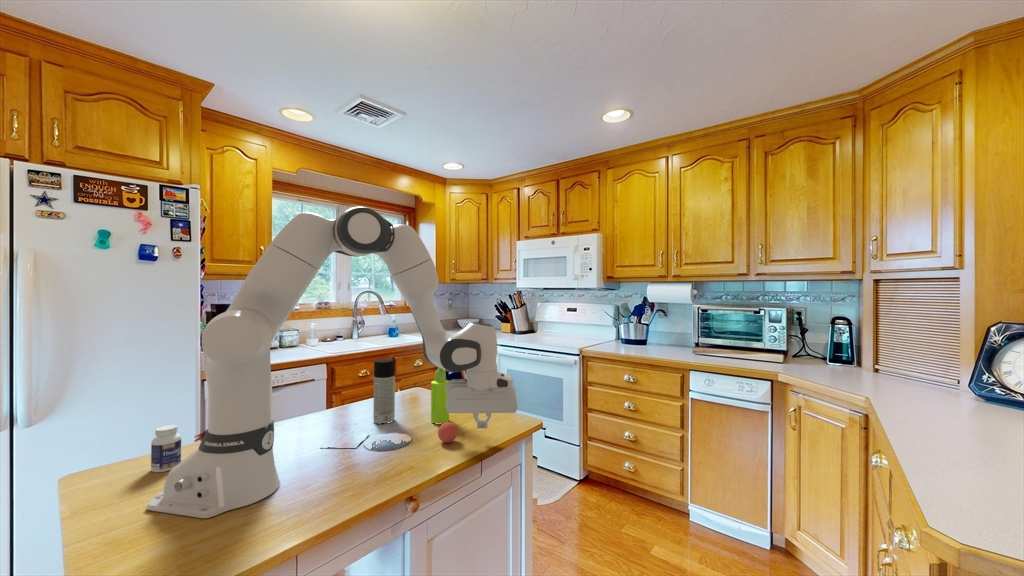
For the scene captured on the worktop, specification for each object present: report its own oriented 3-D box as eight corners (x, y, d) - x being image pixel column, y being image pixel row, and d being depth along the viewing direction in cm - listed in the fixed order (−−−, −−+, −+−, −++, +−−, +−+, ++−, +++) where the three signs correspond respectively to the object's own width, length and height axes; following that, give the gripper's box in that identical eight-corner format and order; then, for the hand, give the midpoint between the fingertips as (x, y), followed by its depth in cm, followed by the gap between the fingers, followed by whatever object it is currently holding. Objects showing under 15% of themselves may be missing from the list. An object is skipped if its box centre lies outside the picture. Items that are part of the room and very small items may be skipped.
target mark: (355, 450, 103) (355, 450, 103) (373, 432, 116) (373, 432, 116) (404, 451, 102) (404, 450, 102) (416, 433, 115) (416, 432, 115)
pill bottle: (163, 474, 89) (163, 432, 89) (144, 472, 90) (145, 430, 90) (186, 464, 95) (187, 424, 95) (169, 462, 96) (169, 422, 96)
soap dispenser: (450, 424, 123) (450, 362, 123) (429, 424, 123) (429, 362, 123) (453, 418, 129) (454, 359, 129) (433, 418, 129) (433, 358, 129)
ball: (436, 445, 106) (436, 425, 106) (439, 438, 112) (440, 419, 112) (455, 446, 106) (455, 426, 106) (458, 438, 112) (458, 419, 112)
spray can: (397, 418, 129) (398, 358, 129) (389, 425, 122) (389, 362, 122) (378, 417, 130) (379, 358, 130) (369, 424, 123) (369, 361, 123)
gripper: (443, 381, 106) (443, 432, 106) (517, 381, 106) (517, 431, 106) (447, 376, 112) (447, 423, 112) (517, 376, 112) (517, 423, 112)
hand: (482, 427), depth 109 cm, fingers closed
